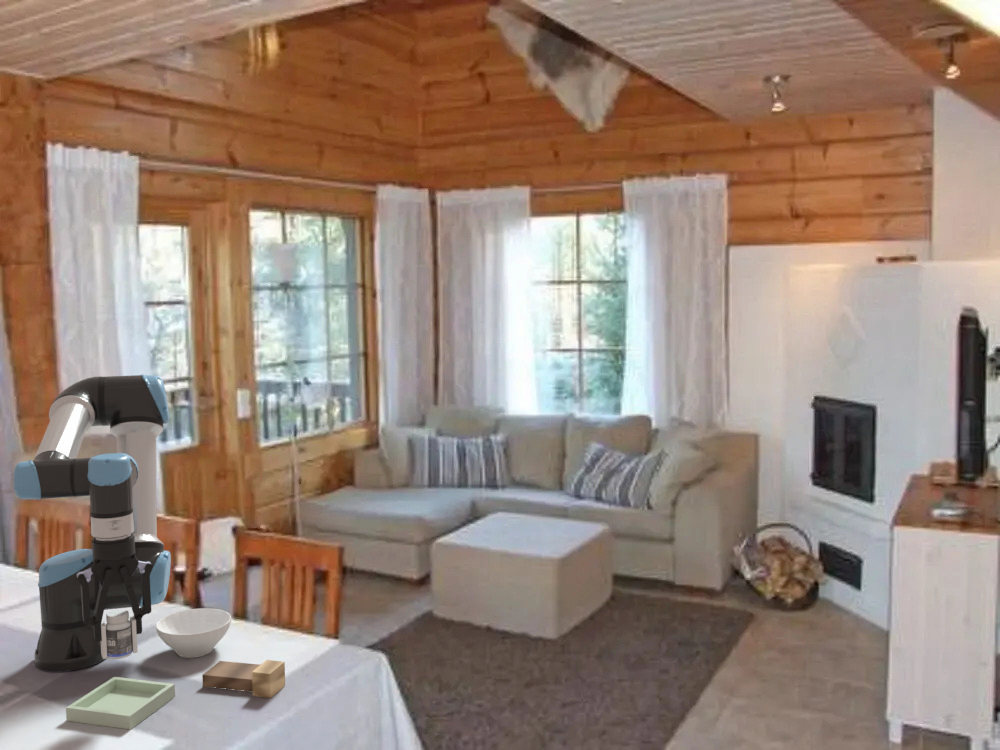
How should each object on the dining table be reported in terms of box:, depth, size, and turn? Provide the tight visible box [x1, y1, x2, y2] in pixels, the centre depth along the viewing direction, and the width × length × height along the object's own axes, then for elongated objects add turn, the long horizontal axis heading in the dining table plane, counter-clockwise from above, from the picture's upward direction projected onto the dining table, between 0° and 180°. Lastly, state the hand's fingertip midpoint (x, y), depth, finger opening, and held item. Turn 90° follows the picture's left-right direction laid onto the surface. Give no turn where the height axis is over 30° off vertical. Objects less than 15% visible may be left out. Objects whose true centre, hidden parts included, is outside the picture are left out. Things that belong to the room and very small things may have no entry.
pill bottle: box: [105, 609, 133, 660], centre depth 180 cm, size 5×5×8 cm
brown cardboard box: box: [201, 660, 261, 692], centre depth 193 cm, size 12×7×3 cm, turn 77°
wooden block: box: [252, 659, 286, 699], centre depth 188 cm, size 4×6×5 cm, turn 165°
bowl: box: [155, 607, 232, 659], centre depth 208 cm, size 16×16×7 cm
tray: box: [65, 676, 176, 730], centre depth 181 cm, size 14×14×3 cm
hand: (119, 653), depth 180 cm, fingers closed on pill bottle, 5 cm apart
